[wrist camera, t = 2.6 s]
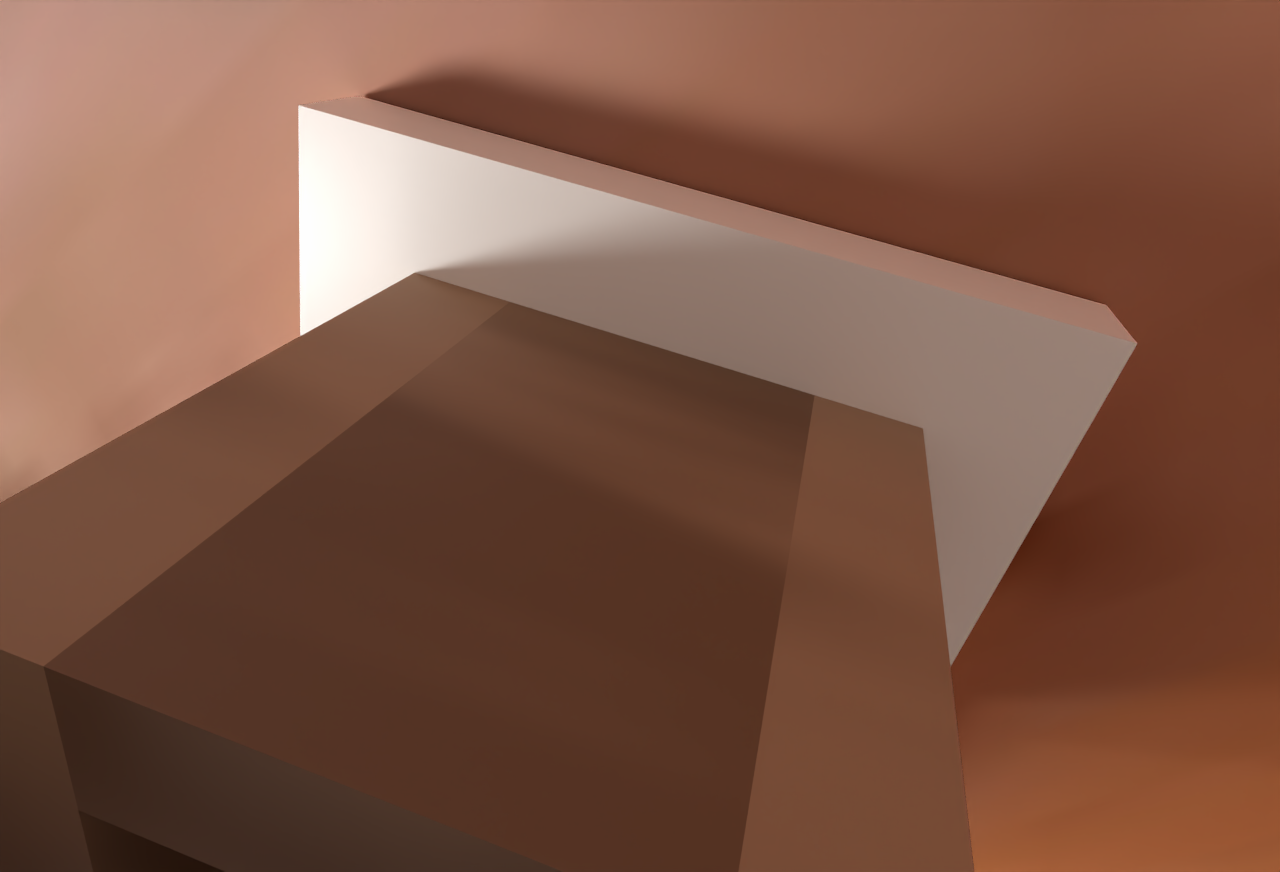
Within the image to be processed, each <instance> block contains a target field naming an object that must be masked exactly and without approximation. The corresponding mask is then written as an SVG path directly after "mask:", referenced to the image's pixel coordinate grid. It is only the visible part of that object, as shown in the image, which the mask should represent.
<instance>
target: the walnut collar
mask: <svg viewBox="0 0 1280 872" xmlns="http://www.w3.org/2000/svg"><path fill="white" fill-rule="evenodd" d="M0 872H974V865H973V856H972V847H971V839H970V830H969V822H968V813H967V804H966V796H965V787H964V778H963V770H962V761H961V752H960V744H959V735H958V727H957V718H956V709H955V701H954V692H953V683H952V675H951V666H950V658H949V649H948V640H947V632H946V623H945V614H944V606H943V597H942V589H941V580H940V571H939V563H938V554H937V545H936V537H935V528H934V519H933V511H932V502H931V494H930V485H929V476H928V468H927V459H926V450H925V442H924V433H923V428H920V427H917V426H913V425H910V424H907V423H904V422H900V421H897V420H894V419H891V418H887V417H884V416H881V415H878V414H874V413H871V412H868V411H864V410H861V409H858V408H855V407H851V406H848V405H845V404H842V403H838V402H835V401H832V400H829V399H825V398H822V397H819V396H816V395H812V394H809V393H806V392H802V391H799V390H796V389H793V388H789V387H786V386H783V385H780V384H776V383H773V382H770V381H767V380H763V379H760V378H757V377H754V376H750V375H747V374H744V373H740V372H737V371H734V370H731V369H727V368H724V367H721V366H718V365H714V364H711V363H708V362H705V361H701V360H698V359H695V358H692V357H688V356H685V355H682V354H679V353H675V352H672V351H669V350H665V349H662V348H659V347H656V346H652V345H649V344H646V343H643V342H639V341H636V340H633V339H630V338H626V337H623V336H620V335H617V334H613V333H610V332H607V331H603V330H600V329H597V328H594V327H590V326H587V325H584V324H581V323H577V322H574V321H571V320H568V319H564V318H561V317H558V316H555V315H551V314H548V313H545V312H541V311H538V310H535V309H532V308H528V307H525V306H522V305H519V304H515V303H512V302H509V301H506V300H502V299H499V298H496V297H493V296H489V295H486V294H483V293H479V292H476V291H473V290H470V289H466V288H463V287H460V286H457V285H453V284H450V283H447V282H444V281H440V280H437V279H434V278H431V277H427V276H424V275H421V274H417V273H413V274H411V275H409V276H408V277H406V278H404V279H402V280H400V281H399V282H397V283H395V284H393V285H391V286H390V287H388V288H386V289H384V290H382V291H381V292H379V293H377V294H375V295H373V296H372V297H370V298H368V299H366V300H364V301H363V302H361V303H359V304H357V305H356V306H354V307H352V308H350V309H348V310H347V311H345V312H343V313H341V314H339V315H338V316H336V317H334V318H332V319H330V320H329V321H327V322H325V323H323V324H321V325H320V326H318V327H316V328H314V329H312V330H311V331H309V332H307V333H305V334H303V335H302V336H300V337H298V338H296V339H294V340H293V341H291V342H289V343H287V344H285V345H284V346H282V347H280V348H278V349H276V350H275V351H273V352H271V353H269V354H267V355H266V356H264V357H262V358H260V359H258V360H257V361H255V362H253V363H251V364H249V365H248V366H246V367H244V368H242V369H240V370H239V371H237V372H235V373H233V374H231V375H230V376H228V377H226V378H224V379H222V380H221V381H219V382H217V383H215V384H213V385H212V386H210V387H208V388H206V389H204V390H203V391H201V392H199V393H197V394H195V395H194V396H192V397H190V398H188V399H186V400H185V401H183V402H181V403H179V404H177V405H176V406H174V407H172V408H170V409H169V410H167V411H165V412H163V413H161V414H160V415H158V416H156V417H154V418H152V419H151V420H149V421H147V422H145V423H143V424H142V425H140V426H138V427H136V428H134V429H133V430H131V431H129V432H127V433H125V434H124V435H122V436H120V437H118V438H116V439H115V440H113V441H111V442H109V443H107V444H106V445H104V446H102V447H100V448H98V449H97V450H95V451H93V452H91V453H89V454H88V455H86V456H84V457H82V458H80V459H79V460H77V461H75V462H73V463H71V464H70V465H68V466H66V467H64V468H62V469H61V470H59V471H57V472H55V473H53V474H52V475H50V476H48V477H46V478H44V479H43V480H41V481H39V482H37V483H35V484H34V485H32V486H30V487H28V488H26V489H25V490H23V491H21V492H19V493H17V494H16V495H14V496H12V497H10V498H8V499H7V500H5V501H3V502H1V503H0Z"/></svg>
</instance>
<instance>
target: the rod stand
mask: <svg viewBox="0 0 1280 872" xmlns="http://www.w3.org/2000/svg"><path fill="white" fill-rule="evenodd" d="M299 232H300V336H302V335H303V334H305V333H307V332H309V331H311V330H312V329H314V328H316V327H318V326H320V325H321V324H323V323H325V322H327V321H329V320H330V319H332V318H334V317H336V316H338V315H339V314H341V313H343V312H345V311H347V310H348V309H350V308H352V307H354V306H356V305H357V304H359V303H361V302H363V301H364V300H366V299H368V298H370V297H372V296H373V295H375V294H377V293H379V292H381V291H382V290H384V289H386V288H388V287H390V286H391V285H393V284H395V283H397V282H399V281H400V280H402V279H404V278H406V277H408V276H409V275H411V274H413V273H417V274H421V275H424V276H427V277H431V278H434V279H437V280H440V281H444V282H447V283H450V284H453V285H457V286H460V287H463V288H466V289H470V290H473V291H476V292H479V293H483V294H486V295H489V296H493V297H496V298H499V299H502V300H506V301H509V302H512V303H515V304H519V305H522V306H525V307H528V308H532V309H535V310H538V311H541V312H545V313H548V314H551V315H555V316H558V317H561V318H564V319H568V320H571V321H574V322H577V323H581V324H584V325H587V326H590V327H594V328H597V329H600V330H603V331H607V332H610V333H613V334H617V335H620V336H623V337H626V338H630V339H633V340H636V341H639V342H643V343H646V344H649V345H652V346H656V347H659V348H662V349H665V350H669V351H672V352H675V353H679V354H682V355H685V356H688V357H692V358H695V359H698V360H701V361H705V362H708V363H711V364H714V365H718V366H721V367H724V368H727V369H731V370H734V371H737V372H740V373H744V374H747V375H750V376H754V377H757V378H760V379H763V380H767V381H770V382H773V383H776V384H780V385H783V386H786V387H789V388H793V389H796V390H799V391H802V392H806V393H809V394H812V395H816V396H819V397H822V398H825V399H829V400H832V401H835V402H838V403H842V404H845V405H848V406H851V407H855V408H858V409H861V410H864V411H868V412H871V413H874V414H878V415H881V416H884V417H887V418H891V419H894V420H897V421H900V422H904V423H907V424H910V425H913V426H917V427H920V428H923V433H924V442H925V450H926V459H927V468H928V476H929V485H930V494H931V502H932V511H933V519H934V528H935V537H936V545H937V554H938V563H939V571H940V580H941V589H942V597H943V606H944V614H945V623H946V632H947V640H948V649H949V658H950V666H951V665H952V663H953V662H954V660H955V658H956V657H957V655H958V653H959V651H960V650H961V648H962V646H963V644H964V643H965V641H966V639H967V637H968V636H969V634H970V632H971V631H972V629H973V627H974V625H975V624H976V622H977V620H978V618H979V617H980V615H981V613H982V612H983V610H984V608H985V606H986V605H987V603H988V601H989V599H990V598H991V596H992V594H993V593H994V591H995V589H996V587H997V586H998V584H999V582H1000V580H1001V579H1002V577H1003V575H1004V574H1005V572H1006V570H1007V568H1008V567H1009V565H1010V563H1011V561H1012V560H1013V558H1014V556H1015V555H1016V553H1017V551H1018V549H1019V548H1020V546H1021V544H1022V542H1023V541H1024V539H1025V537H1026V536H1027V534H1028V532H1029V530H1030V529H1031V527H1032V525H1033V523H1034V522H1035V520H1036V518H1037V517H1038V515H1039V513H1040V511H1041V510H1042V508H1043V506H1044V504H1045V503H1046V501H1047V499H1048V498H1049V496H1050V494H1051V492H1052V491H1053V489H1054V487H1055V485H1056V484H1057V482H1058V480H1059V478H1060V477H1061V475H1062V473H1063V472H1064V470H1065V468H1066V466H1067V465H1068V463H1069V461H1070V459H1071V458H1072V456H1073V454H1074V453H1075V451H1076V449H1077V447H1078V446H1079V444H1080V442H1081V440H1082V439H1083V437H1084V435H1085V434H1086V432H1087V430H1088V428H1089V427H1090V425H1091V423H1092V421H1093V420H1094V418H1095V416H1096V415H1097V413H1098V411H1099V409H1100V408H1101V406H1102V404H1103V402H1104V401H1105V399H1106V397H1107V396H1108V394H1109V392H1110V390H1111V389H1112V387H1113V385H1114V383H1115V382H1116V380H1117V378H1118V377H1119V375H1120V373H1121V371H1122V370H1123V368H1124V366H1125V364H1126V363H1127V361H1128V359H1129V358H1130V356H1131V354H1132V352H1133V351H1134V349H1135V347H1136V345H1137V342H1136V341H1135V340H1134V339H1133V337H1132V336H1131V335H1130V334H1129V332H1128V331H1127V330H1126V329H1125V327H1124V326H1123V325H1122V324H1121V322H1120V321H1119V320H1118V319H1117V317H1116V316H1115V315H1114V314H1113V313H1112V311H1111V310H1110V309H1109V308H1108V306H1107V305H1105V304H1101V303H1098V302H1094V301H1091V300H1087V299H1083V298H1080V297H1076V296H1073V295H1069V294H1066V293H1062V292H1058V291H1055V290H1051V289H1048V288H1044V287H1041V286H1037V285H1033V284H1030V283H1026V282H1023V281H1019V280H1016V279H1012V278H1008V277H1005V276H1001V275H998V274H994V273H991V272H987V271H983V270H980V269H976V268H973V267H969V266H965V265H962V264H958V263H955V262H951V261H948V260H944V259H940V258H937V257H933V256H930V255H926V254H923V253H919V252H915V251H912V250H908V249H905V248H901V247H898V246H894V245H890V244H887V243H883V242H880V241H876V240H873V239H869V238H865V237H862V236H858V235H855V234H851V233H848V232H844V231H840V230H837V229H833V228H830V227H826V226H823V225H819V224H815V223H812V222H808V221H805V220H801V219H798V218H794V217H790V216H787V215H783V214H780V213H776V212H773V211H769V210H765V209H762V208H758V207H755V206H751V205H748V204H744V203H740V202H737V201H733V200H730V199H726V198H723V197H719V196H715V195H712V194H708V193H705V192H701V191H698V190H694V189H690V188H687V187H683V186H680V185H676V184H673V183H669V182H665V181H662V180H658V179H655V178H651V177H648V176H644V175H640V174H637V173H633V172H630V171H626V170H622V169H619V168H615V167H612V166H608V165H605V164H601V163H597V162H594V161H590V160H587V159H583V158H580V157H576V156H572V155H569V154H565V153H562V152H558V151H555V150H551V149H547V148H544V147H540V146H537V145H533V144H530V143H526V142H522V141H519V140H515V139H512V138H508V137H505V136H501V135H497V134H494V133H490V132H487V131H483V130H480V129H476V128H472V127H469V126H465V125H462V124H458V123H455V122H451V121H447V120H444V119H440V118H437V117H433V116H430V115H426V114H422V113H419V112H415V111H412V110H408V109H405V108H401V107H397V106H394V105H390V104H387V103H383V102H380V101H376V100H372V99H369V98H365V97H362V96H355V97H348V98H342V99H335V100H329V101H322V102H316V103H309V104H303V105H299Z"/></svg>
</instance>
